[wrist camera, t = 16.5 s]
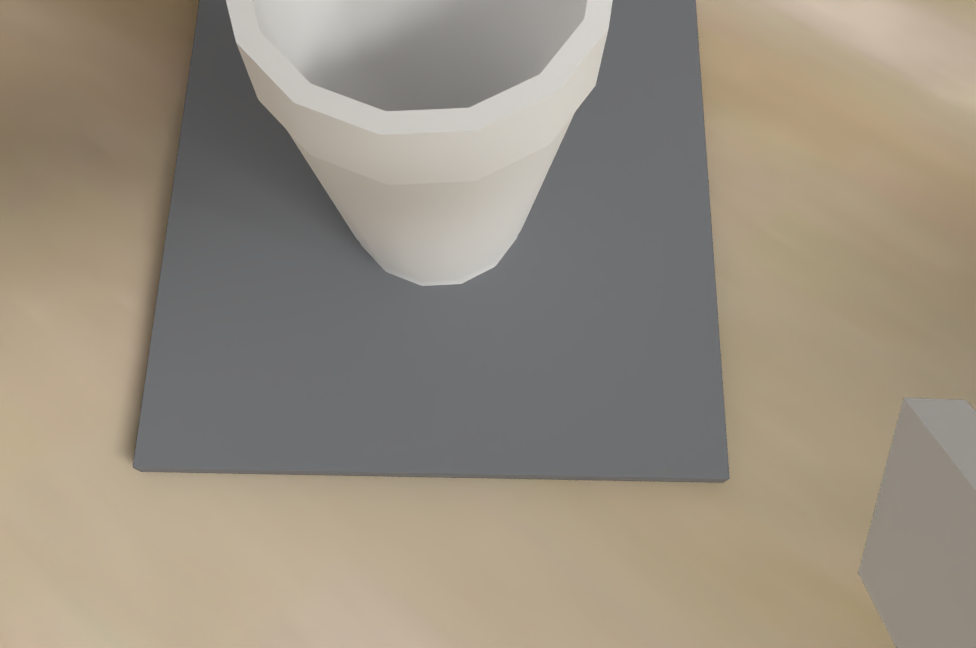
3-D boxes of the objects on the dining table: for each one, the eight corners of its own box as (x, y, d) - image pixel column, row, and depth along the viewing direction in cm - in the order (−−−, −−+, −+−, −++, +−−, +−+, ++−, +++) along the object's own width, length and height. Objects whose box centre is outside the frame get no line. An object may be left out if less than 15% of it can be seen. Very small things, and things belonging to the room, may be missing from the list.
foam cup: (342, 80, 36) (276, -214, 23) (577, 116, 35) (635, -163, 23) (285, 305, 33) (175, 103, 20) (543, 347, 32) (588, 167, 20)
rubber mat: (690, 1, 38) (694, -11, 38) (723, 482, 32) (729, 478, 31) (208, -11, 38) (203, -24, 37) (141, 471, 31) (132, 467, 31)
